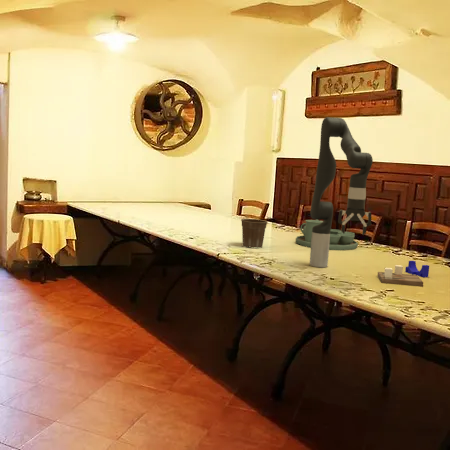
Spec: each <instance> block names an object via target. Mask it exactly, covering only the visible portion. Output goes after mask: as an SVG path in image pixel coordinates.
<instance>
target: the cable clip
mask: <svg viewBox="0 0 450 450" xmlns="http://www.w3.org/2000/svg"><path fill="white" fill-rule="evenodd" d="M405 273H408V274H409V275H417V276H418V277H419V278H420V277H422V278H429V273H430V265H427V264H422V265H421V268H420V270H419V269H418V267H417V264H416V260H408V265H407V266H405Z"/></svg>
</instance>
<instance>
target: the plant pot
mask: <svg viewBox="0 0 450 450" xmlns="http://www.w3.org/2000/svg"><path fill="white" fill-rule="evenodd" d="M240 221H241V227H242V229H241V231H242V246H243V247H244V246H246V247H245V248H248V247H249V248H251V247H261V248H263V244H264V239H265V238H264V237H265V233H266V228H267V224H268V221H267V220H263V219H257V218H241V219H240Z"/></svg>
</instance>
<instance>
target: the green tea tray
mask: <svg viewBox="0 0 450 450" xmlns="http://www.w3.org/2000/svg"><path fill="white" fill-rule="evenodd" d="M323 221H324V220H320V219H305V222H303V223H302V224H301V225H300V232H301V234H302V235H299V236H296V237H295V244H297V245H299V244H300V246H302V247H306V246H307V247H306V248H311V239H312V228H313V227H314V226H316V225H319V224H321V223H322V222H323ZM341 230H342V229H332V228H331V231H330V243H329V251H349V250H355V249H356V248H358V246H359V243H358V242H357V241H355V240H354V239H355V237H356V235H355V232H351V231H350V232H349V231H345V233H344V234H343V232H342V231H341Z"/></svg>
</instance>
